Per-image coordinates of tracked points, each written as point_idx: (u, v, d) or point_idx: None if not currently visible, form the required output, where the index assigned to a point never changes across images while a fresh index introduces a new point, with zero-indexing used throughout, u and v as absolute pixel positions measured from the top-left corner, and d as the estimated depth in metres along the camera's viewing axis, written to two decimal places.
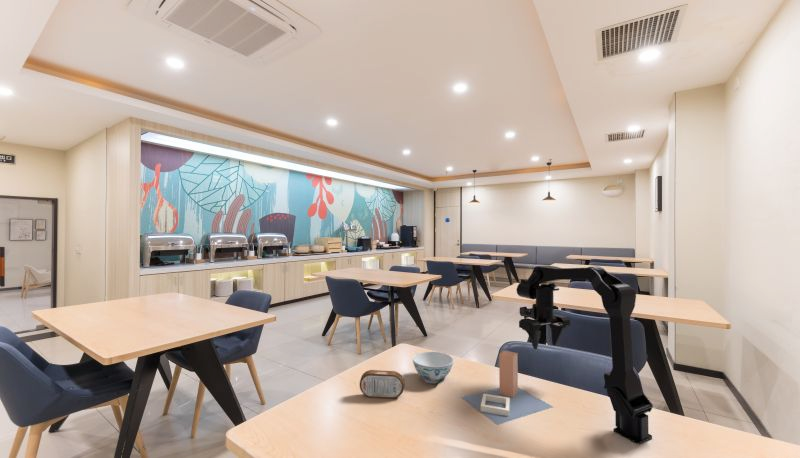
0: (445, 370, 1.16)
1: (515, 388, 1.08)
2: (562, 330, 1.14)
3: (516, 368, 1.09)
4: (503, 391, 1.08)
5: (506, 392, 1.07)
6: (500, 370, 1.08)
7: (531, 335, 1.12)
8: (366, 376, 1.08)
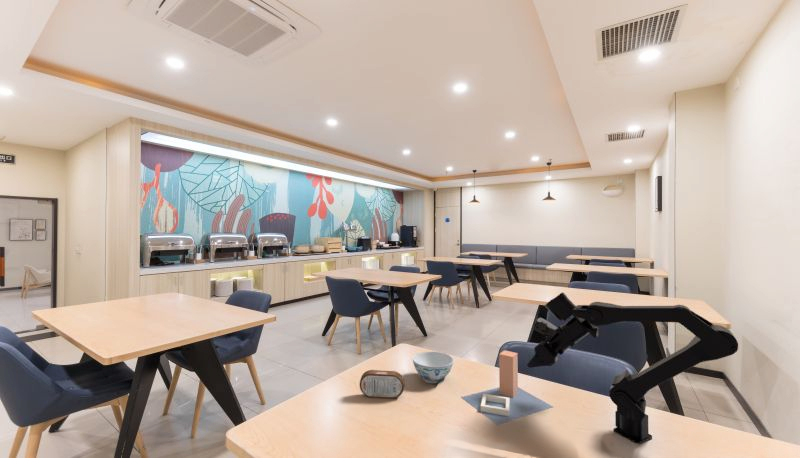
0: (445, 370, 1.16)
1: (515, 388, 1.08)
2: (556, 353, 1.05)
3: (516, 368, 1.09)
4: (503, 391, 1.08)
5: (506, 392, 1.07)
6: (500, 370, 1.08)
7: (537, 357, 0.98)
8: (366, 376, 1.08)
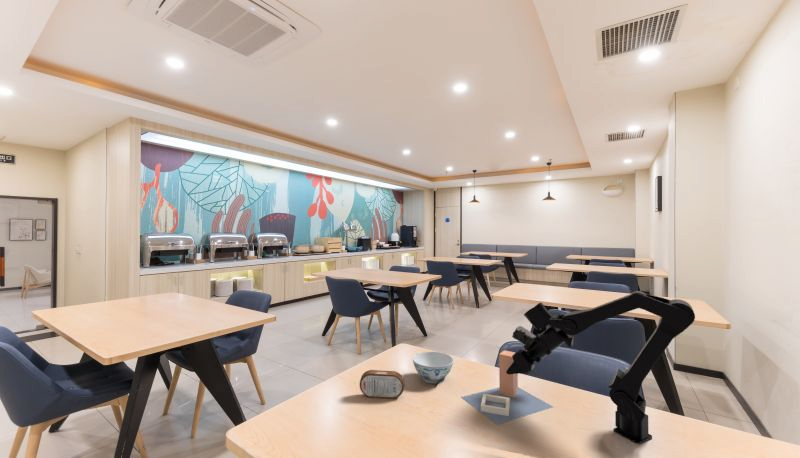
0: (445, 370, 1.16)
1: (515, 388, 1.08)
2: None
3: None
4: (503, 391, 1.08)
5: (506, 392, 1.07)
6: (500, 370, 1.08)
7: (515, 365, 1.02)
8: (366, 376, 1.08)
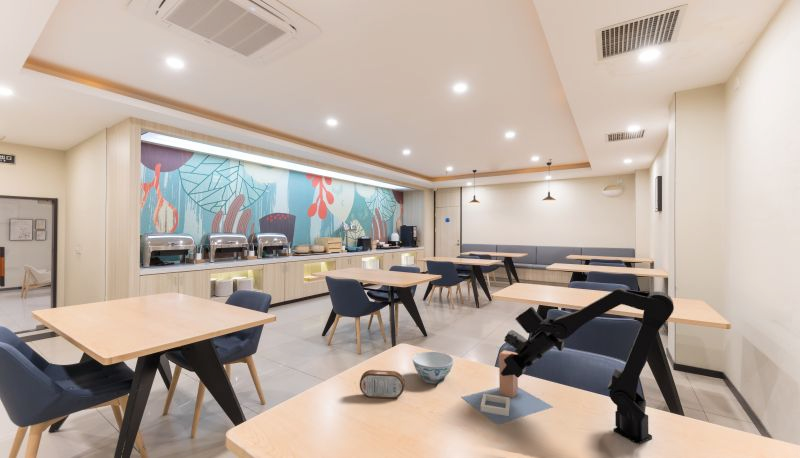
0: (445, 370, 1.16)
1: (515, 388, 1.08)
2: None
3: None
4: (503, 391, 1.08)
5: (506, 392, 1.07)
6: (500, 370, 1.08)
7: (509, 366, 1.05)
8: (366, 376, 1.08)
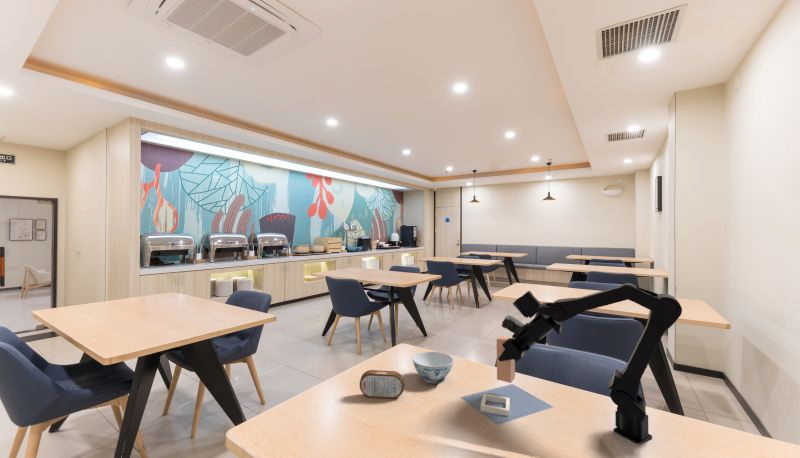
0: (445, 370, 1.16)
1: (513, 373, 1.07)
2: None
3: None
4: (501, 377, 1.06)
5: (504, 378, 1.06)
6: (497, 356, 1.07)
7: (507, 351, 1.04)
8: (366, 376, 1.08)
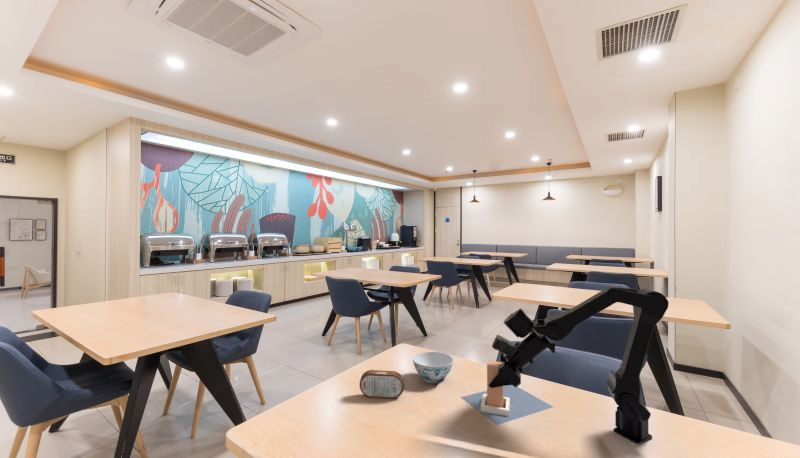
0: (445, 370, 1.16)
1: (503, 400, 1.00)
2: None
3: None
4: None
5: None
6: (488, 383, 0.99)
7: (499, 377, 0.95)
8: (366, 376, 1.08)
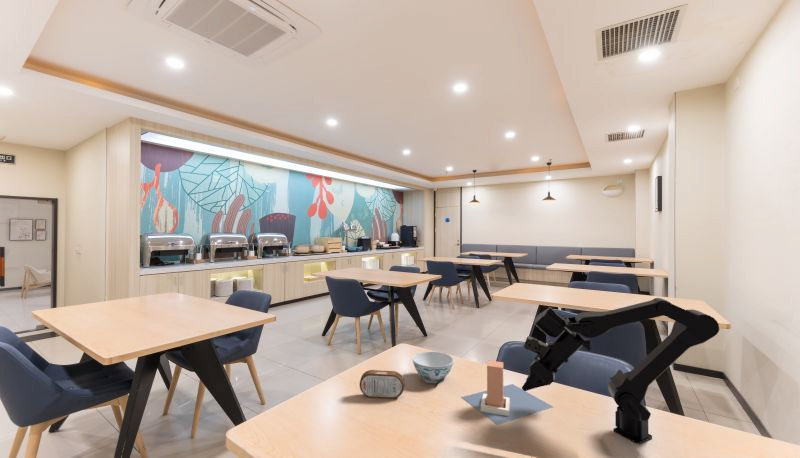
0: (445, 370, 1.16)
1: (503, 400, 1.00)
2: None
3: None
4: None
5: None
6: (488, 383, 0.99)
7: (532, 378, 0.92)
8: (366, 376, 1.08)
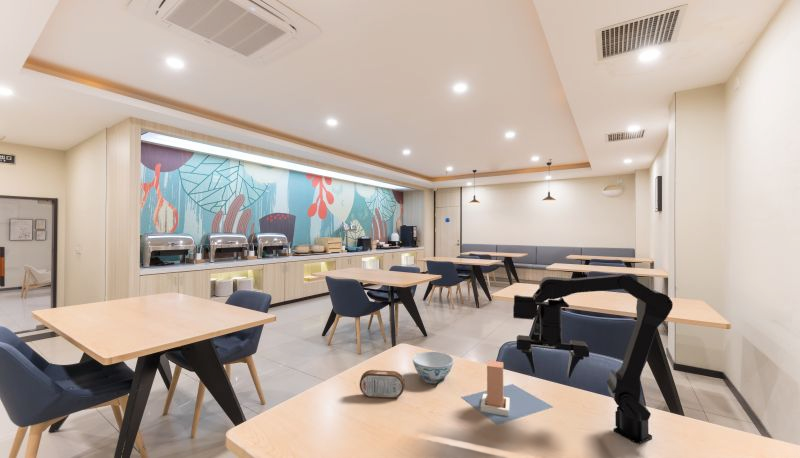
0: (445, 370, 1.16)
1: (503, 400, 1.00)
2: (573, 360, 0.91)
3: None
4: None
5: None
6: (488, 383, 0.99)
7: None
8: (366, 376, 1.08)
